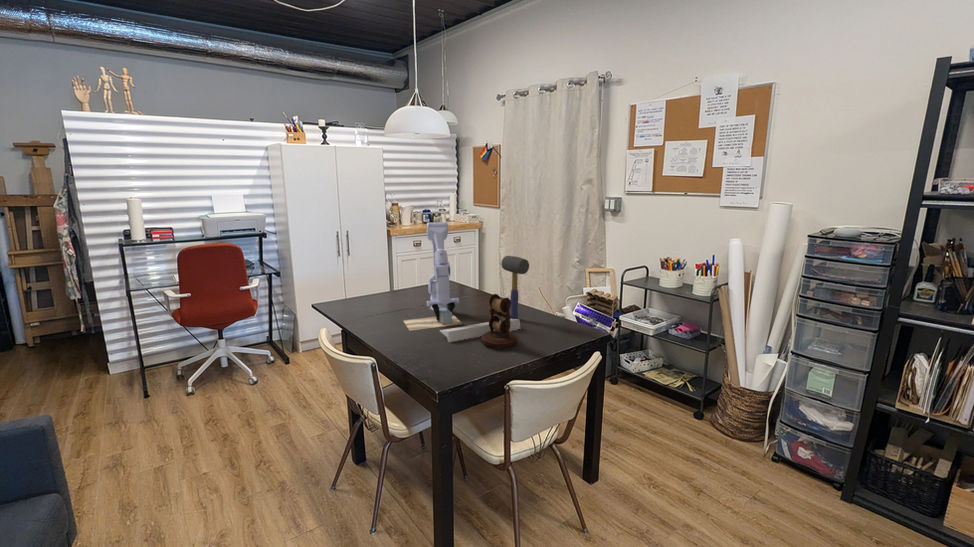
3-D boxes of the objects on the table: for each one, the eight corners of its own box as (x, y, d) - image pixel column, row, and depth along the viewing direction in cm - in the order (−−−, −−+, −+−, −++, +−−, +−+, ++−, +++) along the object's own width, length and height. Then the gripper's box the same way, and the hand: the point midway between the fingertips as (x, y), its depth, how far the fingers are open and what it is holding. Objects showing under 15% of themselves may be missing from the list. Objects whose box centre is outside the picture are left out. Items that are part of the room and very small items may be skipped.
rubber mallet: (499, 317, 216) (500, 255, 209) (510, 314, 221) (511, 253, 214) (517, 324, 207) (519, 259, 200) (529, 320, 212) (530, 257, 205)
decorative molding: (440, 341, 194) (449, 343, 185) (439, 330, 194) (448, 331, 185) (509, 329, 209) (520, 330, 201) (508, 318, 210) (519, 319, 201)
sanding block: (436, 319, 208) (436, 308, 207) (445, 318, 210) (445, 307, 209) (442, 324, 201) (442, 313, 200) (452, 323, 203) (452, 312, 202)
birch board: (403, 323, 207) (403, 320, 207) (453, 317, 215) (453, 314, 215) (409, 333, 194) (409, 330, 194) (462, 327, 203) (462, 324, 202)
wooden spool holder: (525, 344, 184) (526, 296, 179) (497, 353, 175) (497, 303, 170) (501, 334, 195) (501, 289, 190) (473, 342, 186) (473, 294, 181)
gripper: (429, 294, 197) (430, 324, 200) (461, 291, 202) (461, 320, 205) (425, 290, 203) (426, 319, 206) (456, 287, 208) (456, 315, 212)
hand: (443, 319), depth 206 cm, fingers closed on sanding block, 5 cm apart
